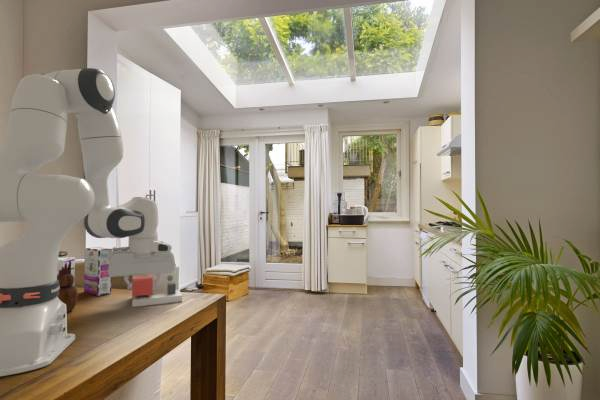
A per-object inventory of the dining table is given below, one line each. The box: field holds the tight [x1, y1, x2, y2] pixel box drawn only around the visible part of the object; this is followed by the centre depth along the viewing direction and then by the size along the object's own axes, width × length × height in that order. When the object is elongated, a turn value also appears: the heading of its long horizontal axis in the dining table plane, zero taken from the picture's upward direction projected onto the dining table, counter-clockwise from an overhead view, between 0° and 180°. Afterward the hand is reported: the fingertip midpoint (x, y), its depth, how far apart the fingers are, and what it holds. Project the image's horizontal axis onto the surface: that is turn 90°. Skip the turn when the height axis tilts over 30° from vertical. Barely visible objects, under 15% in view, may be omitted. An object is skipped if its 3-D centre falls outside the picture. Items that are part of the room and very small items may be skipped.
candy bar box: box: [83, 246, 113, 297], centre depth 125 cm, size 11×5×16 cm, turn 55°
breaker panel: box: [131, 265, 183, 308], centre depth 117 cm, size 12×15×10 cm
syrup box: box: [57, 256, 76, 286], centre depth 114 cm, size 6×6×14 cm
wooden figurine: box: [57, 261, 79, 313], centre depth 103 cm, size 7×6×15 cm
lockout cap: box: [131, 276, 153, 296], centre depth 113 cm, size 6×6×5 cm
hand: (142, 288), depth 113 cm, fingers closed on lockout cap, 6 cm apart
